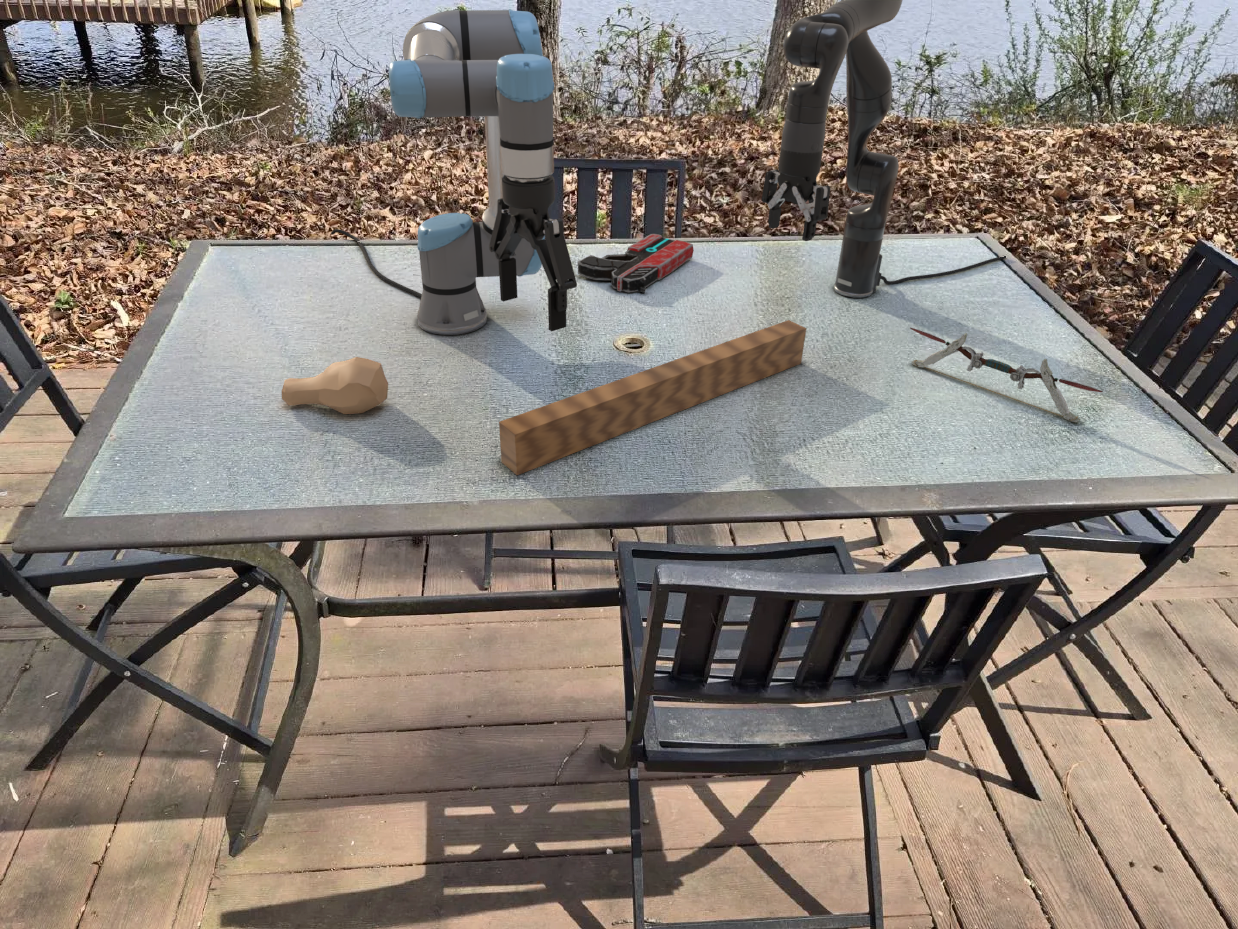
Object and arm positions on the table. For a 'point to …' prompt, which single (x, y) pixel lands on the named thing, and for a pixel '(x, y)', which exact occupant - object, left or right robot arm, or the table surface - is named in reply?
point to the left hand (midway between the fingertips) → (532, 313)
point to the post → (646, 396)
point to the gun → (638, 263)
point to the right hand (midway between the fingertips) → (790, 233)
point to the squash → (341, 387)
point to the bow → (1015, 375)
